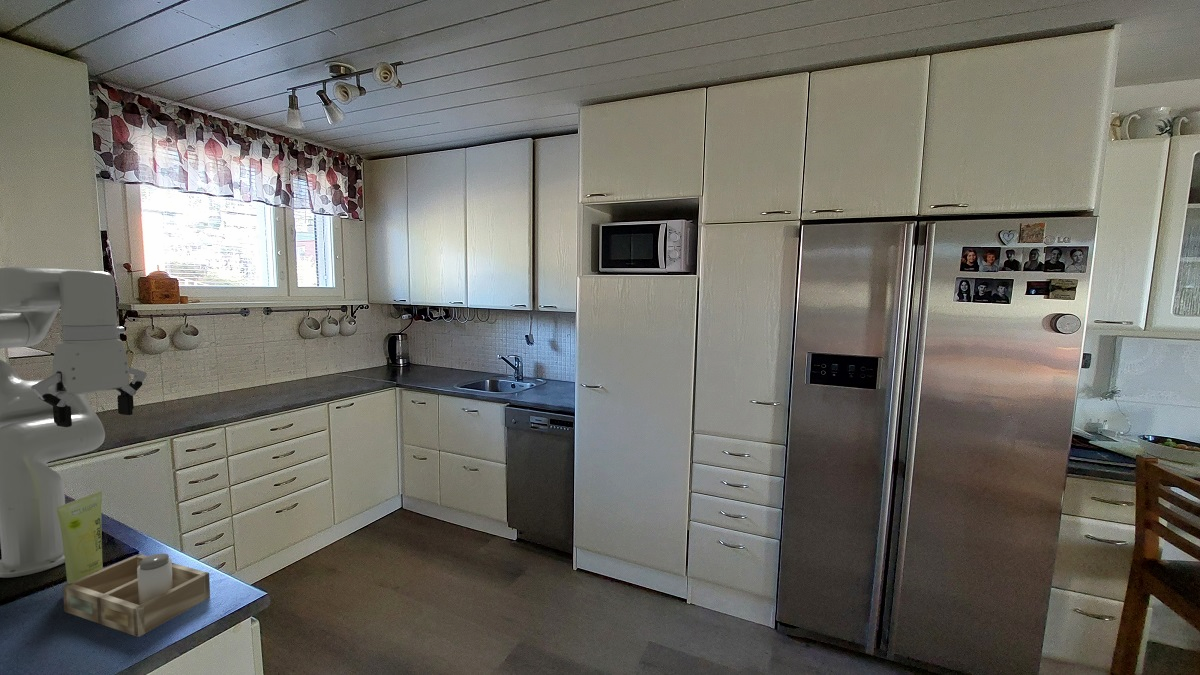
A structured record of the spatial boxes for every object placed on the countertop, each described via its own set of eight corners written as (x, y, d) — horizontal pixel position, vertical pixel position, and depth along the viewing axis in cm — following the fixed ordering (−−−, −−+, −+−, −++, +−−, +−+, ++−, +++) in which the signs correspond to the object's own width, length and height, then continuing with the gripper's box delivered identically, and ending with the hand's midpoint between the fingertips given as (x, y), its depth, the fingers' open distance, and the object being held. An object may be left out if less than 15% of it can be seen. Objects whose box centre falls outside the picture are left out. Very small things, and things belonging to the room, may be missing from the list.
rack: (63, 616, 92) (61, 586, 91) (140, 580, 103) (139, 553, 103) (137, 642, 86) (135, 610, 85) (210, 601, 98) (209, 573, 97)
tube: (98, 595, 98) (93, 500, 96) (62, 603, 95) (56, 506, 94) (106, 580, 103) (101, 490, 101) (72, 587, 100) (66, 495, 98)
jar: (132, 614, 92) (130, 563, 91) (162, 599, 96) (160, 550, 95) (150, 620, 90) (148, 568, 89) (179, 604, 95) (177, 555, 94)
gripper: (130, 330, 105) (134, 408, 107) (16, 336, 89) (23, 429, 90) (155, 332, 103) (159, 412, 105) (43, 338, 87) (50, 433, 88)
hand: (96, 420), depth 98 cm, fingers open, 9 cm apart
